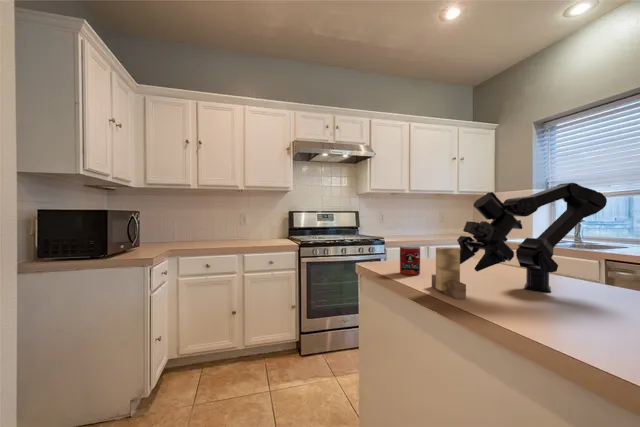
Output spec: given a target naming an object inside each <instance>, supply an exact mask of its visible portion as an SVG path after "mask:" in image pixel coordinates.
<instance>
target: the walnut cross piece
mask: <svg viewBox="0 0 640 427" xmlns="http://www.w3.org/2000/svg"><path fill="white" fill-rule="evenodd" d="M431 288H434V289H436V291H439V292H441V293H443V294H445V295H447V296H449V297H451V298H453V299H455V300H466V299H467V284H465V283H462V282H461V281H460V282H458V281H447V291H441V290H439V289H437V288H436V273H435V274H434V273H433V274H432V273H431Z"/></svg>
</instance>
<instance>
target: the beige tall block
mask: <svg viewBox="0 0 640 427" xmlns="http://www.w3.org/2000/svg"><path fill="white" fill-rule="evenodd" d="M435 274H436V288H437V289H439V290H441V291H447V281H458V282H461V264H460V247H454V246H449V247H448V246H446V247H443V246H440V247H439V246H437V247H435ZM437 289H436V290H437ZM439 290H438V291H439ZM441 291H440V292H441Z"/></svg>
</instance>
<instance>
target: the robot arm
mask: <svg viewBox="0 0 640 427" xmlns="http://www.w3.org/2000/svg"><path fill="white" fill-rule="evenodd" d="M559 200H563V202H565V203H566V210H564V212H562V213H561V214H560V215H559V217H557V218H556V220H554V221H553V222H552V223H551V224H550V225H549V226H548V227H547V228H546V229H545V230H544V231H543V232H542V233H541V234H540V235H538V237H536V238H531V237H526V238H524V240H523V241H522V242H521V243H520V244H518V245H517V249H516V250H515V252H514V250H513V249H512V248H511V247H510V246H509V245H508V244H507V243H506V242H507V241H508V238H507V236H508V235H509V234H510V232H511V231H512V230H513V229H515V230H522V229H523V224H522V221H521V219H520V220H519V219H517V218H516V217H522V218H523V217H525V218H526V217H529V216H530V215H532V214H534V213H536V212H537V211H538V209H539V208H540V207H543V206H546V205H549V204H552V203H554V202H556V201H559ZM606 205H607V197H606V196H605V195H604V194H603V193H602V192H600V191H597V190H595V189H592V188H588V187H585V186H582V185H580V184H578V183H576V182H566V183H559V184H557V185H555V186H553V187H550V188H547V189H545V190H542V191H539V192H537V193H533V194H531V195H527V196H519V197H511V198H507V199H505V200H504V201H503V202H502V201H501V200H500V199H499V198H498V197H497V195H496V194H495V193H494V192H493V191H492V192H490V191H489V192H487V193H486V194H485V195H482V196H480V197H479V198H478V199H476V200H475V201H474V203H473V207H474V208H475V209H476V211H478V213H479V214H481V216H483V217H484V219H485V220H489V221H490V220H492V221H491V222H488V221H484V220H482V221H480V222H477V221H466V223H465V225H464V227H463V230H462V231H463V232H465V233H468V234H470V235H472V237H471V236H467V235H460V236H459V237H458V238H457V239H456V241H457V243H458V245H459V248H460V265H462V264H463V263H465V262H466V261H468V260H469V259H471V258H472V257H474V256H475V255H476V253H478V252H479V251H480V250H484V254H483V255H482V257H481V258H480V260H479V261H478V262H477V264H476V265H475V267H474V270H475V272H480V271H482V270H485V269H487V268H490V267H493V266H495V265H498V264H500V263H506V261H507V262H511V260H513V258H514V257H515V255H516V260H517V261H518V264H519V267H520V268H525V269H526V274H525V275H526V278H525V279H526V280H525V282H526V283H525V284H524V289H525V290H530V291H539V292H547V293H552V287H551V286H550V273H556V272H557V271H558V268H559V264H558V263H557V262H556V261H555V260H554V259H553V256H554V248H555V247H556V246H557V245H558V244H559V243H560V242H561V241H562V240H563V239H564V238H565V237H566V236H567V235H568V234H569V233H570V232H571V231H572V230H573V229H574V228H575V227H576V226H578V224H580V223H581V221H583V219H585V218H588V217H591V216H594V215H596V214H598V213H599V212H601V211H602V210H603V209H604V208H605V207H606ZM515 253H516V254H515Z"/></svg>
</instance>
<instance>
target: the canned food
mask: <svg viewBox="0 0 640 427" xmlns="http://www.w3.org/2000/svg"><path fill="white" fill-rule="evenodd" d="M399 272H400V274H401V275H403V276H408V277H409V276H410V277H412V276H413V277H414V276H415V277H416V276H419V275H420V274H421V246H420V245H418V244H417V245H416V244H402V245H401V244H400V246H399Z"/></svg>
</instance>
